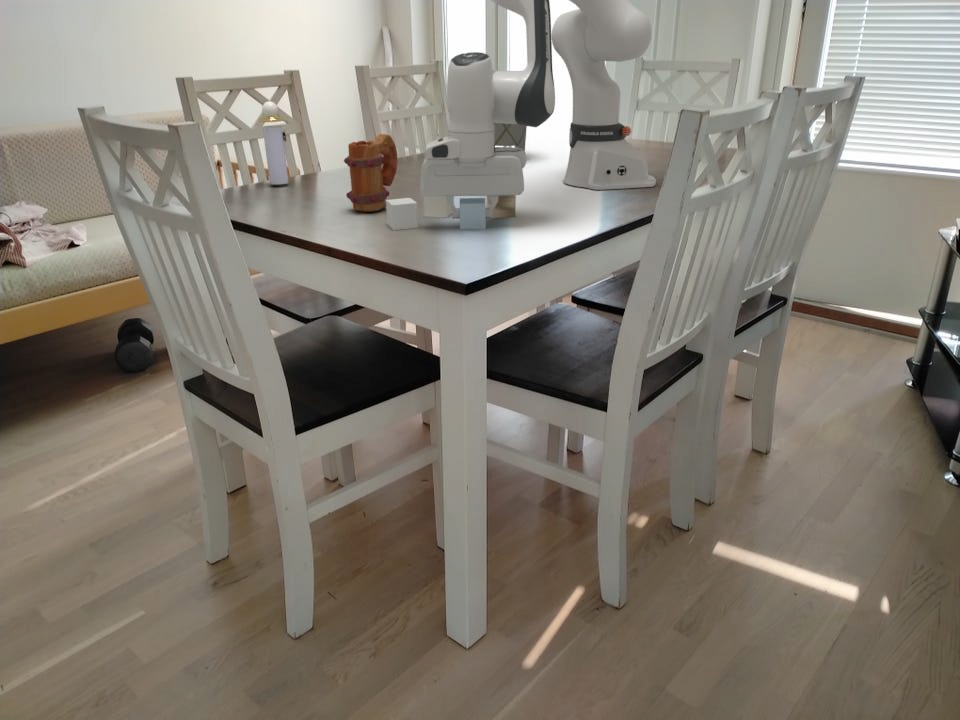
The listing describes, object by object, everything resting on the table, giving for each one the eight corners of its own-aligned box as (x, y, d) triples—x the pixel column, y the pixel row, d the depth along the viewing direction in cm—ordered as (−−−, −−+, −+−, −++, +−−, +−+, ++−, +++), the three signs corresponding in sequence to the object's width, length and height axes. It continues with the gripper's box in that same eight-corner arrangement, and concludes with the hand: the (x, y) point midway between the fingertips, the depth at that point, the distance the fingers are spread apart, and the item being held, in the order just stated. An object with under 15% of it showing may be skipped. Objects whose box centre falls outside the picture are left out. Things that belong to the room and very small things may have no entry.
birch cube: (509, 211, 156) (510, 188, 154) (515, 217, 152) (515, 193, 150) (486, 212, 155) (486, 189, 153) (491, 218, 151) (491, 194, 149)
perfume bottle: (276, 189, 179) (265, 103, 171) (263, 185, 183) (251, 101, 174) (296, 185, 183) (286, 101, 175) (283, 182, 187) (272, 99, 178)
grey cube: (411, 222, 149) (410, 197, 147) (418, 228, 145) (417, 202, 143) (387, 224, 148) (385, 199, 145) (393, 230, 143) (392, 205, 141)
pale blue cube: (485, 222, 148) (484, 197, 146) (485, 229, 143) (485, 203, 141) (460, 223, 148) (459, 198, 145) (460, 229, 143) (459, 204, 141)
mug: (369, 216, 153) (363, 142, 147) (340, 212, 157) (333, 140, 151) (411, 202, 164) (407, 133, 158) (383, 198, 168) (378, 131, 162)
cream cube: (453, 212, 156) (453, 189, 154) (447, 218, 152) (446, 194, 150) (431, 211, 157) (430, 188, 155) (424, 217, 153) (423, 193, 151)
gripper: (524, 142, 142) (523, 213, 148) (419, 144, 142) (422, 214, 147) (527, 147, 136) (526, 221, 142) (417, 149, 136) (420, 222, 142)
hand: (472, 217), depth 145 cm, fingers closed on pale blue cube, 5 cm apart
